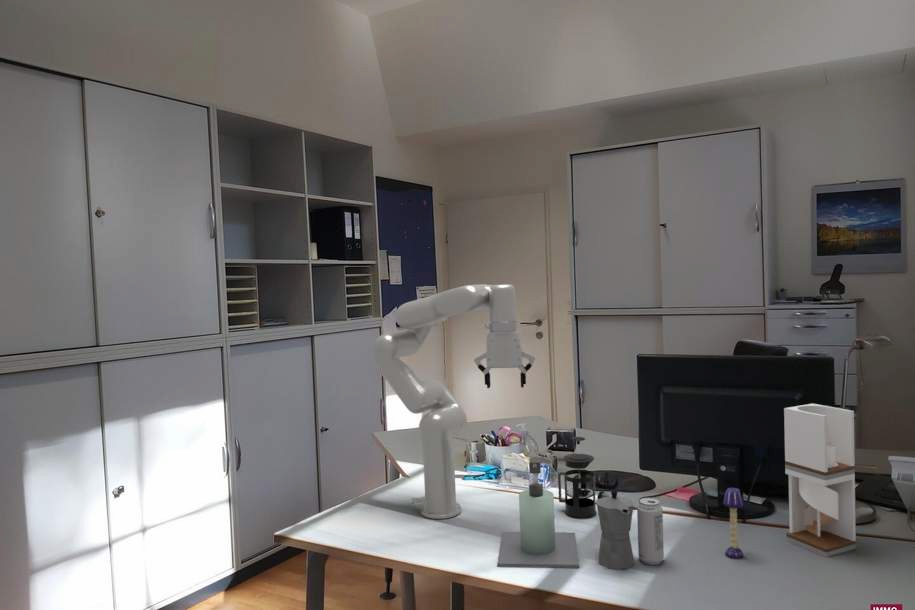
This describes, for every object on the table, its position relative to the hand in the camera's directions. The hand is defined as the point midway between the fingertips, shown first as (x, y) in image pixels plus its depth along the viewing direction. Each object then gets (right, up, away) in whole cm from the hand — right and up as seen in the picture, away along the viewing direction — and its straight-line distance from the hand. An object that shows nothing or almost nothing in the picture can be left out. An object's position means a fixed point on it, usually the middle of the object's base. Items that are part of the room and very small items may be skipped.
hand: (505, 387), depth 187 cm
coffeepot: (+26, -41, -23) cm, 53 cm away
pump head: (+6, -23, -19) cm, 30 cm away
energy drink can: (+34, -40, -25) cm, 58 cm away
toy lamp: (+56, -39, -23) cm, 72 cm away
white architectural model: (+80, -38, -20) cm, 90 cm away
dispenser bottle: (+7, -41, -16) cm, 44 cm away
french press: (+23, -39, +9) cm, 46 cm away
